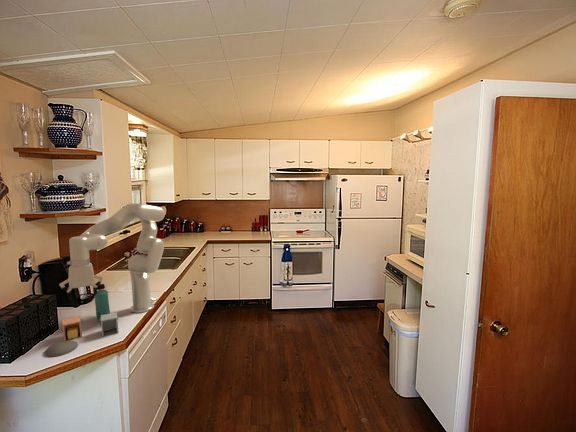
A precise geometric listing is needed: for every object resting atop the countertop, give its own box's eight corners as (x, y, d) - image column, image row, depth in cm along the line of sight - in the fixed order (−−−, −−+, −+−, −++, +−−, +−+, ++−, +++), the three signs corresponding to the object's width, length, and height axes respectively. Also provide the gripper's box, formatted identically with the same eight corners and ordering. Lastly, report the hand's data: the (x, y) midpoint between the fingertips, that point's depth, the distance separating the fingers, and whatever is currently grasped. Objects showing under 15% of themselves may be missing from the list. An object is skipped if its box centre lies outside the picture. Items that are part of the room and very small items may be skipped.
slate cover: (102, 330, 158) (100, 315, 157) (118, 327, 162) (116, 312, 161) (102, 336, 152) (100, 320, 151) (118, 332, 156) (117, 317, 155)
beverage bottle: (113, 317, 173) (110, 282, 170) (106, 323, 166) (103, 286, 164) (100, 318, 173) (97, 282, 170) (93, 323, 166) (90, 286, 163)
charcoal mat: (68, 340, 150) (68, 338, 149) (83, 346, 144) (83, 344, 144) (39, 352, 139) (39, 350, 139) (54, 359, 133) (53, 357, 133)
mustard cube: (68, 335, 154) (67, 328, 153) (77, 333, 156) (77, 325, 155) (68, 339, 150) (67, 331, 150) (78, 336, 153) (77, 329, 152)
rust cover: (64, 335, 154) (62, 319, 153) (81, 331, 158) (79, 316, 157) (64, 341, 148) (62, 325, 147) (82, 336, 152) (80, 321, 151)
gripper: (57, 267, 142) (60, 304, 144) (102, 261, 152) (104, 296, 154) (57, 263, 148) (60, 299, 150) (100, 258, 158) (102, 291, 160)
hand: (82, 297), depth 152 cm, fingers open, 9 cm apart
